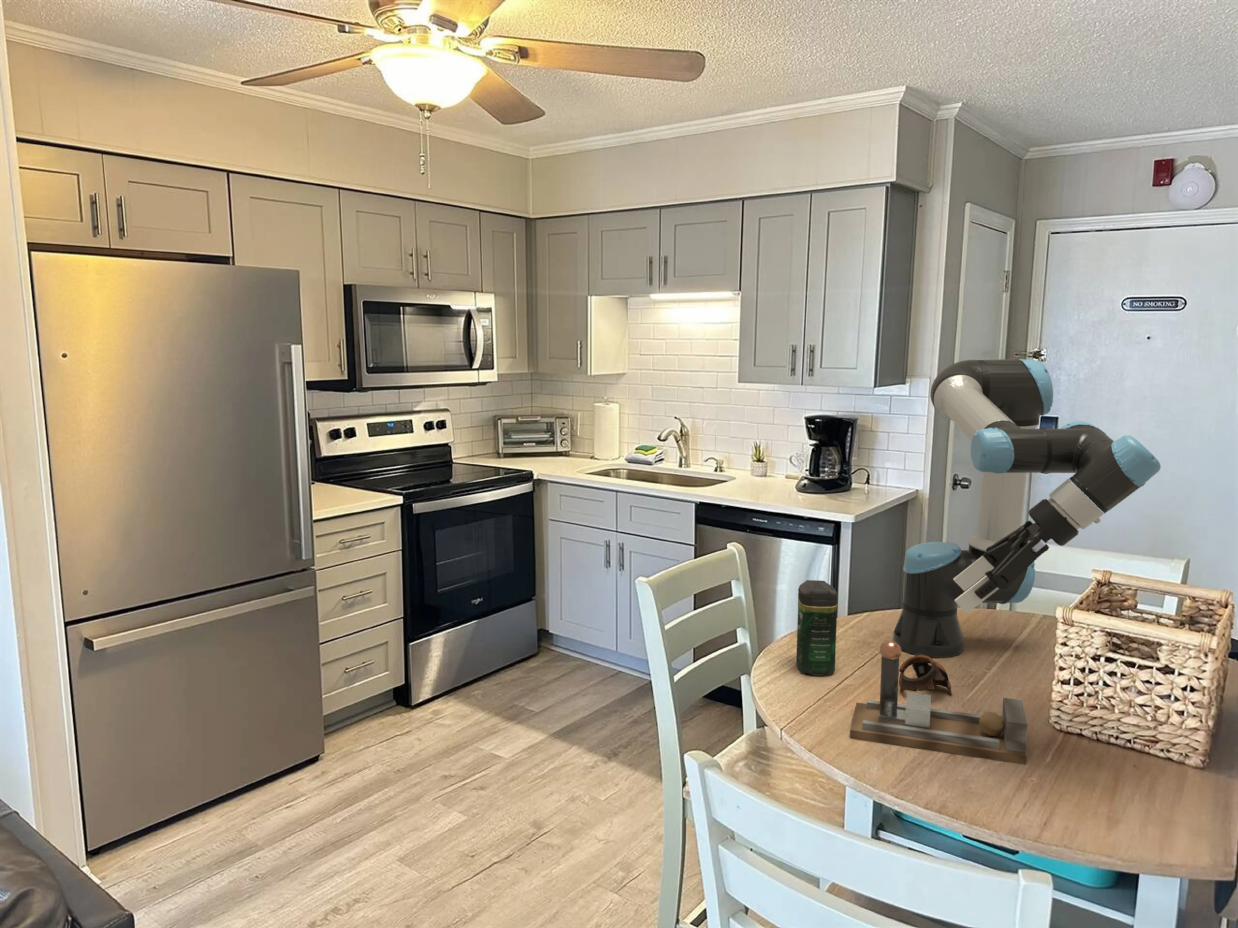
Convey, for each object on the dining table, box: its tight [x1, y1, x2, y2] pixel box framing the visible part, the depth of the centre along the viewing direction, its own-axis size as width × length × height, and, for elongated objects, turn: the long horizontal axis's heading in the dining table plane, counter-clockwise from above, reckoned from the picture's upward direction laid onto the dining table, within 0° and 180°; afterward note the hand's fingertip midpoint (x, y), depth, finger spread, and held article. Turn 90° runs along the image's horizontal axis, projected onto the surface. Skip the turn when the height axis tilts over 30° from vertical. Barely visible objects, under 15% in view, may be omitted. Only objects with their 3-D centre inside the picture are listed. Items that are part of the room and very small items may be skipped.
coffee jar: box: [795, 579, 838, 676], centre depth 180 cm, size 10×8×19 cm
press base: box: [849, 697, 1028, 765], centre depth 150 cm, size 28×12×6 cm, turn 70°
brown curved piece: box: [898, 653, 953, 696], centre depth 170 cm, size 12×10×8 cm
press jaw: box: [879, 639, 932, 729], centre depth 151 cm, size 9×7×15 cm
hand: (959, 595), depth 145 cm, fingers open, 13 cm apart
